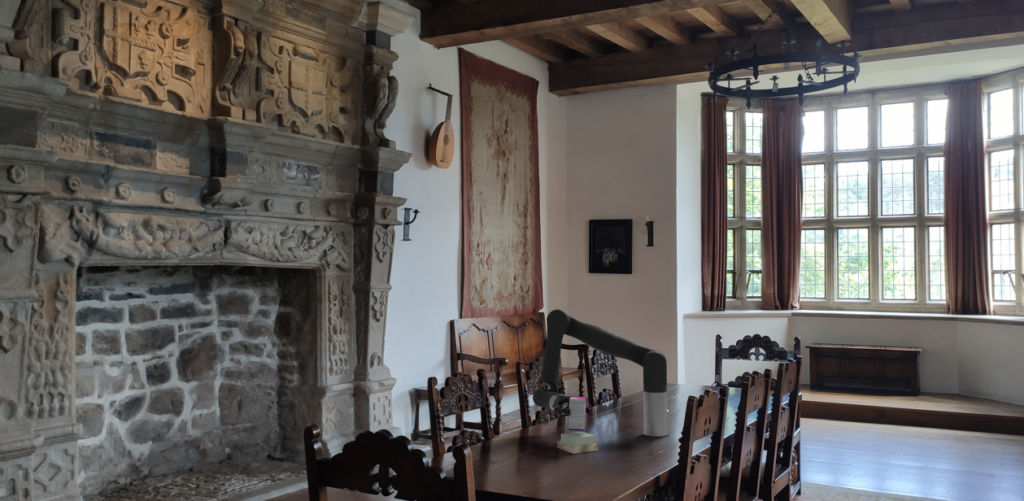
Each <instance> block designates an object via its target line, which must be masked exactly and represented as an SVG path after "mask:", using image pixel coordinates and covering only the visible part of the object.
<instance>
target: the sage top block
mask: <svg viewBox="0 0 1024 501" xmlns="http://www.w3.org/2000/svg"><path fill="white" fill-rule="evenodd" d="M560 441H561V442H563V443H566V444H569V445H572V446H575V447H576V446H583V445H590V444H596V443H597V442H596V435H595V434H592V433H589V432H585V431H572V432H564V433H560Z"/></svg>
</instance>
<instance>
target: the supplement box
mask: <svg viewBox="0 0 1024 501" xmlns="http://www.w3.org/2000/svg"><path fill="white" fill-rule="evenodd" d="M570 397H571V398H570V403H569V409H570V411H571V414H570V416H568V431H575V432H578V431H582V432H585V429H586V428H587V425H586V423H587V413H586V404H587V396H570Z"/></svg>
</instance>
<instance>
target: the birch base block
mask: <svg viewBox="0 0 1024 501" xmlns="http://www.w3.org/2000/svg"><path fill="white" fill-rule="evenodd" d="M556 444H557V445H556V448H557V449H558V450H559V449H560V450H562V451H564V452H568V453H570V454H573V455H575V454H582V453H583V454H584V453H590V452H596V451H599V452H600V444H599V443H597V442H596V444H590V445H583V446H576V447H575V446H572V445H569V444H566V443H563V442H561V440H558V441H557V442H556Z"/></svg>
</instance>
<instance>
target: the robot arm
mask: <svg viewBox="0 0 1024 501" xmlns="http://www.w3.org/2000/svg"><path fill="white" fill-rule="evenodd" d="M546 328H547V329H546V342H545V349H544V353H543V360H542V364H541V365H542V366H541V372H540V381H541V382H543V383H544V384H546V385H548V387H549V388H541V387H540V388H537V389H535V390H534V392H533V393H532V402H533V403H534V405H535V406H537V407H539V408H540V407H541V408H545V409H548V410H551V412H552V413H554V414H556V415H560V416H562V417H569V416H570V414H571V411H570V409H569V403H570V398H571V397H572V396H568V395H565V394H563V393H559V384H558V382H559V381H558V380H559V372H560V366H561V353H562V352H561V351H562V344H563V340H564V335H565V336H568V337H572V338H574V339H576V340H578V341H580V342H581V343H583V344H585V345H587V346H589V347H590V348H592V349H594V350H597V351H598V352H600V353H604V354H606V355H609V356H612V357H614V358H619V359H623V360H627V361H630V362H633V363H634V364H636V365H638V366H640V367H642V377H643V378H642V380H643V382H642V386H643V390H642V391H643V394H642V395H643V398H642V399H643V435H645V436H647V437H659V438H660V437H666V436H668V435H670V411H669V410H668V373H667V372H668V370H667V369H668V362H667V358H666V355H664V353H663V352H662V351H660V350H657V349H653V348H649V347H646V346H644V345H640V344H637V343H635V342H633V341H632V340H630V339H628V338H626V337H624V336H622V335H620V334H618V333H616V332H613V331H611V330H609V329H606V328H604V327H601V326H598V325H594V324H592V323H591V324H590V323H587V322H583V321H581V320H579V319H577V318H575V317H573V316H572V315H570V314H568V313H567V312H565V311H564V310H563V309H561V308H560V309H558V308H557V309H552V310H551V311H550V312H549V313H548V314H547V316H546ZM592 413H593V412H592V404H589V403H586V415H591V414H592Z"/></svg>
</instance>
